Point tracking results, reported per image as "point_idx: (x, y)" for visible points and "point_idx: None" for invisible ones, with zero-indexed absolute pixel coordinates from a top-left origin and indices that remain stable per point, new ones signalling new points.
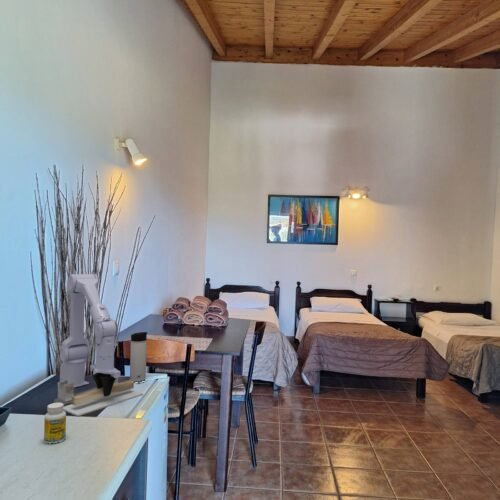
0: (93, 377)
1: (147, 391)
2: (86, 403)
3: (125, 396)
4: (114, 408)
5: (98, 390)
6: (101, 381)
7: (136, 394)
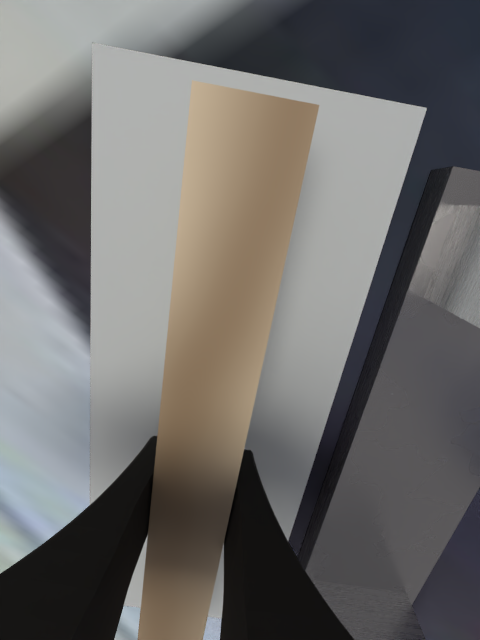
0: (336, 638)
1: (119, 627)
2: (273, 317)
3: None
4: (22, 360)
5: (192, 452)
6: (232, 597)
7: None
